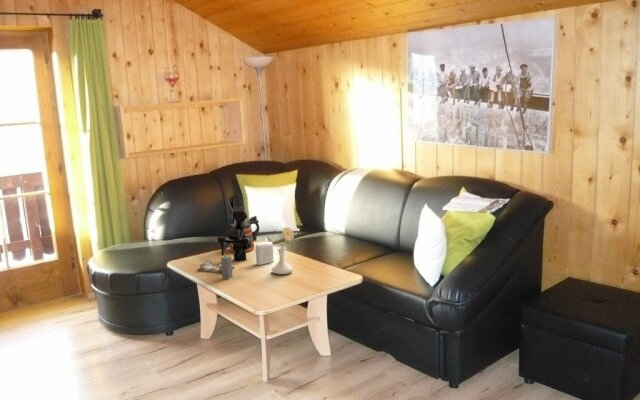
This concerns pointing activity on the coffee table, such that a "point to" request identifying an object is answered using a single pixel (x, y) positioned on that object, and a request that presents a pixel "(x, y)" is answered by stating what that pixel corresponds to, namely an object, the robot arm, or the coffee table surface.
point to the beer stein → (249, 232)
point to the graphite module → (226, 267)
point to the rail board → (210, 267)
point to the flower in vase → (282, 265)
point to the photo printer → (264, 253)
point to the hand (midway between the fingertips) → (229, 256)
